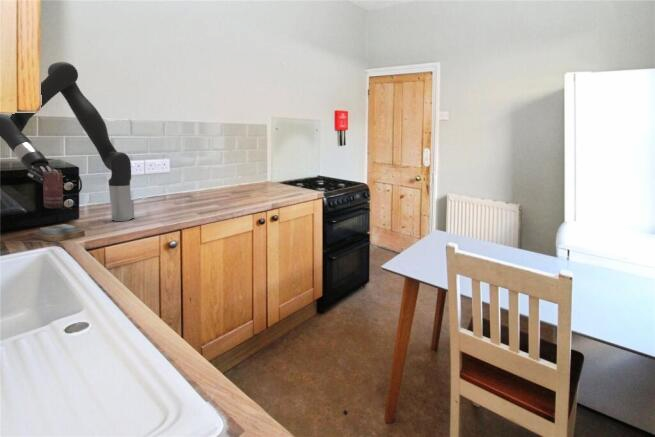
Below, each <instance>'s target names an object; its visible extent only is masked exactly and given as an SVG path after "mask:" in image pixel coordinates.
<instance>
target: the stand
mask: <svg viewBox="0 0 655 437" xmlns="http://www.w3.org/2000/svg"><path fill="white" fill-rule="evenodd" d="M39 229H40V232H36V233H35V232H34V234H33V236H34V239H37V240H42V241H47V242H51V241H55V242H60V241H64V240H70V239H75V238H79V237H85V236H86V233H85V230H82V229H79V226H77V225H71V224H65V223H63V224H56V225H52V226H51V225H50V226H46V227H40V228H39Z"/></svg>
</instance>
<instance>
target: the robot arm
mask: <svg viewBox="0 0 655 437" xmlns="http://www.w3.org/2000/svg"><path fill="white" fill-rule="evenodd" d="M78 79H79V73H78V70H77V68H76V67H75V66H74V65H73V64H71V63H69V62H66V61H60V62H59V61H58V62H54V63H52V64H50V65H49V67H48V68H47V77H46V78H45V79H44V80H42V81H41V82H40V83H41V95H42V105H41V109H42V108H43V107H44V106H45V105H46V104H47V103H48V102H49V101H50V100H51V99H53V98H54V97H55V96H56V95H58V94H59V92H60V93H61V95H62V96H63V97H64V99H65V101H66V103H67V104H68V106H69V108H70V109H71V112H72V113H73V114H74V116H75V118H76V119H77V121H78V123H79V124H80V126H81V127H82V129H83V130H84V132H85V134H86V135H87V136H88V138H89V140H90V141H91V142H92V145H93V146H94V147H95V149H96V150H97V152H98V155H99V157H100V158H101V161H102V163H103V164H104V166H105V168H106V169H108V170H110V171H111V175H110V178H109V179H108V180H107V181H108V189H109V190H108V192H109V201H110V214H111V220H114V221H113V222H124V221H125V222H126V221H131V220H130V219H132V218H135V207H134V200H133V199H132V191H131V180H132V162H131V158H130V157H129V155H127V154H126V153H125V152H120V151H117V149H116V148H115V147H114V146H113V143H112V142H111V140H110V137H109V132H108V128H107V125H106V123H105V121H104V119H103V117H102V116H101V114H100V112H99V111H98V110H97V108H96V107H95V106H94V105H93V104H92V102H91V101H90V100H89V99H88V98H87V97H86V96H85V95H84V94H83V93H82V91H81V89H80V88H79V86H78V84H77V80H78ZM36 113H38V112H36ZM36 113H15V114H12V113H11V114H10V116H8V115H6V114H3V113H0V138H1V139H3V140H4V142H5V144H6V145H8V147H9V148H10V149H11V151H12V152H13V153H14V154H15V157H17V159H18V160H19V161H20V163H21V164H22V165H23V166H24V167H25V169H26V170H27V171H29V172H28V173H27V175H26V177H28V178H30V179H32V180H34V181H36V182H38V183H39V184H42V185H43V183H44V180H45V179H44V177H43V173H44V171H46V172H47V171H49V172H50V171H58V172H61V173H62V170H61V169H58V168H57V169H55V168H54V167H53V166H51V165H50V164H49V161H48V159H47V158H46V156H45V155H44V154H43V153H42V152H41V150H40V149H39V148H38V147H37V146H36V145H34V143H33V142H32V141H31V140H30V139H29V138H28V137H27V136H26V135H25V134H24V133H23V131H24V130H25V127H26V126H27V124H28V122H29V120H30V119H31V118H32V117H34V115H35V114H36ZM58 189H61V187H59V188H58ZM132 220H133V219H132Z"/></svg>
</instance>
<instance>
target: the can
mask: <svg viewBox="0 0 655 437" xmlns="http://www.w3.org/2000/svg"><path fill="white" fill-rule="evenodd" d="M43 177H44V179H45V180H44V183H43V184H42V186H43V207H44V208H46V209H61V208H63V206H64V193H63V192H64V190H63V188H64V187H63V185H64V184H63V178H64V177H63V173H62V171H61V172H58V171H50V172H49V171H47V172H46V171H44V173H43ZM59 187H61V189H58V188H59Z"/></svg>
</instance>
